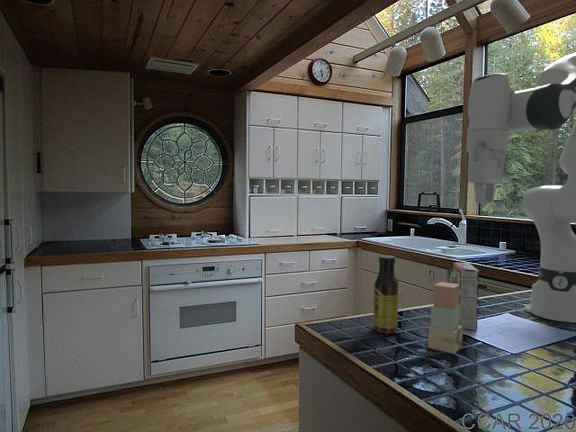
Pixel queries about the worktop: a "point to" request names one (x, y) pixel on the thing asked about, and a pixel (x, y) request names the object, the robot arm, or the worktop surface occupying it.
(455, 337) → the beige block
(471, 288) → the candy bar box
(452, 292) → the terracotta cube
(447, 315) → the sage cube
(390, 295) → the sauce bottle
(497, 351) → the worktop surface
